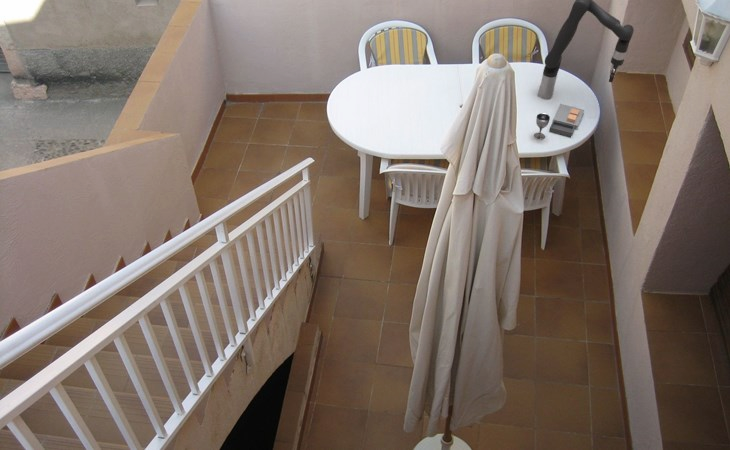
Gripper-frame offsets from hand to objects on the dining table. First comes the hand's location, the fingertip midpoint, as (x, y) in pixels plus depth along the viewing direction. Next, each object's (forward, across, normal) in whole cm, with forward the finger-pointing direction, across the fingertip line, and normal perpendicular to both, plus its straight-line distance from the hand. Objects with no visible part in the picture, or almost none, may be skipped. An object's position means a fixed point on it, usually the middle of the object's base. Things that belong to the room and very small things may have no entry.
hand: (611, 78), depth 437 cm
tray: (+26, +31, -19) cm, 45 cm away
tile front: (+23, +22, -15) cm, 35 cm away
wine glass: (+27, +42, -31) cm, 59 cm away
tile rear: (+23, +15, -15) cm, 32 cm away
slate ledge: (+26, +16, -18) cm, 36 cm away
